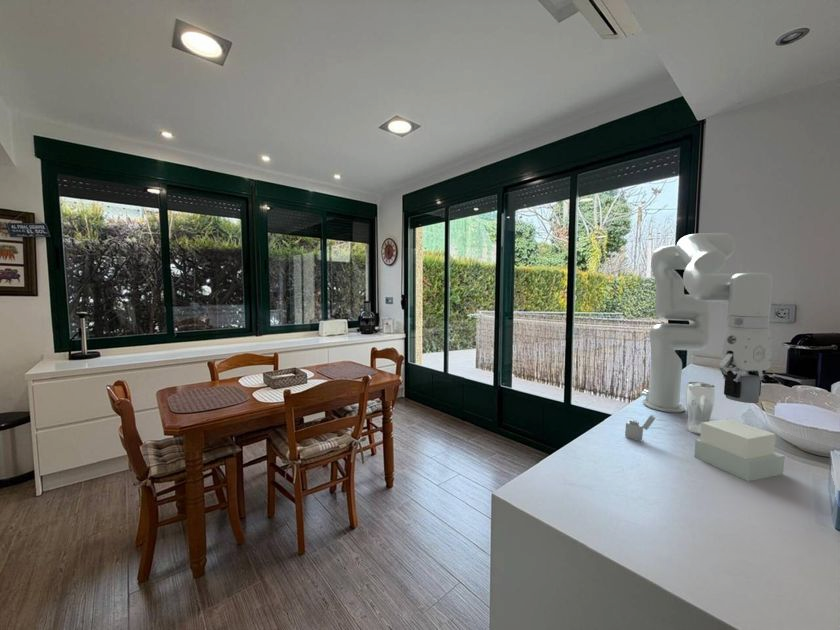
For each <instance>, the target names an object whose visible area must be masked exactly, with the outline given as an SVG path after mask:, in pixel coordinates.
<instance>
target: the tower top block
mask: <svg viewBox="0 0 840 630" xmlns="http://www.w3.org/2000/svg"><path fill="white" fill-rule="evenodd" d="M699 436H700V437H699V438H700V441H701V442H704V443H706V444H709V445H711V446H714V447H716V448H719V449H721V450H724V451H726V452H729V453H731V454H733V455H736V456H738V457H741V458H743V459H751V458H756V457H761V456H766V455H770V454H774V452H775V442H776V433H773V432H771V431H768V430H764V429H761V428H758V427H754V426H753V425H749V424H746V423H742V422H740V421H737V420H733V419H730V418H724V419H723V418H722V419H718V420H717V419H716V420H710V421H709V422H702V424H701V435H699Z"/></svg>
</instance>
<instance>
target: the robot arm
mask: <svg viewBox="0 0 840 630" xmlns="http://www.w3.org/2000/svg"><path fill="white" fill-rule="evenodd" d="M735 251H736V242H735V239H734V238H733V236H732V235H731V234H729V233H725V232H709V233H708V232H707V233H706V232H704V233H691V234H687V235H684V236H683V237H681V238H680V239H679V240H678V241H677V243H676V245H673V244H672V245H664V246H660V247H657V249H655V250H654V251H653V253H652V256H651V260H650V261H651V263H650V264H651V266H650V267H651V270H652V274H653V277H654V281H655V295H654V297H655V298H654V299H655V300H654V301H655V303H654V305H655V307H654V311H655V315H656V317H657V318H658V319H661V320H665V321H686V322H687V321H688V322H689V324H686V323H683V324H682V323H657V324H655V325H653V326H652V327H651V328H650V330H649V342H650V367H649V368H650V370H649V384H648V385H649V387H648V390H647V389H643V391H641V393H640V395H641V396H644V397H645V399H644V400H643V405H644V406H646V407H647V408H650V409H653V410H655V411H656V410H657V411H660V412H665V413H666V412H667V413H682V412H684V411H685V406H684V404H683V405H682V404H681V403H680V401H681V389H682V387H681V386H682V375H683V374H682V371H683V361H682V359H681V358H680V356H679V355H678V354H677V352H676V351H703V350H704V349H706V348H707V347H708V344H709V339H710V304H709V302H710V303H711V302H713V303H717V302H718V303H728V304H727V316H726V317H727V318H726V330H725V334H724V337H723V344H722V351H721V361H720V362H719V364H718V365H717V366H718V369H719V371H720V372H721V374H722V375H723V376H722V379H723V380H724V384H723V385H724V386H723V394H724V396H726V395H727V396H731V397H734V398H740V392H741V382H738V381H739V379H740V377H741V374H742V373H743V372H745V374H750V375H755V376H759V377H760V391H759V397H760V396H761V391H762V389H761V388H762V380H763V381H764V375H765V373H767V372H766V371H767V370H769V369H771V367H772V366H771V365H772V338H771V337H772V336H771V332H770V320H771V309H772V296H773V284H774V278H773V276H772V274H771V273H767V272H739V273H718V272H720V271H721V270H722V269H723V268H724V267H725V265H726V263H727V260H728V259H729V258H730V257H731V256H733V255H734V252H735ZM676 270H684V272H683V276H681V275H680V274H679V273H678V271H676ZM685 290H686V291H687V292H688V294H685ZM734 373H735V375H734Z"/></svg>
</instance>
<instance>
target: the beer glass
mask: <svg viewBox="0 0 840 630" xmlns="http://www.w3.org/2000/svg"><path fill="white" fill-rule="evenodd" d="M685 393H686V394H685V403H686V410H687V422H686V425H685V430H686V431H687V432H689V433H692V434H695V435H699V436H701V424H702V422H709V421H711V418H712V414H713V412H714V408H715V402H716V386H715V385H713V384H711V383H706V382H700V381H688V382H687V387H686V392H685Z"/></svg>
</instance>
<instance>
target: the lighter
mask: <svg viewBox="0 0 840 630" xmlns="http://www.w3.org/2000/svg"><path fill="white" fill-rule="evenodd" d="M656 419H657V417H655V416H653V415H650V416H649V417H648V418H647V420H646V421H645V422H644V423H643V425H642V424H640V423H639V420H635V419H630V420H629V421H626V422H625V433H624V434H625V435H624V437H625V436H626V437H625V438H627V437H628V438H629V439H631V438H632V440H634V439H636V440H635V441H638V440H639V442H642V441H643V436H644V435H643V432H644V430H646V431H647V430H648V429H649V428H650V426H651V425H652V424H653V423H654V421H656ZM641 440H642V441H641Z"/></svg>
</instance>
